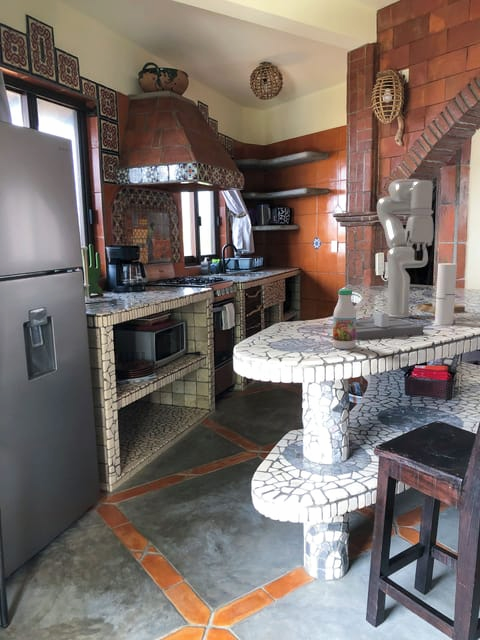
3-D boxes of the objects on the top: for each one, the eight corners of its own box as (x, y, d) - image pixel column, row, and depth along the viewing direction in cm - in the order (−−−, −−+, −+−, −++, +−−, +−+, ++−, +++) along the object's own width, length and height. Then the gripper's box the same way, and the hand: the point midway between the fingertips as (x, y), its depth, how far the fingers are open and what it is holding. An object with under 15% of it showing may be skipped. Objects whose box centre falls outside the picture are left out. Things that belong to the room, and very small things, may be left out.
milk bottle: (330, 344, 165) (330, 288, 161) (351, 343, 165) (352, 287, 162) (336, 350, 157) (337, 291, 153) (358, 349, 158) (360, 290, 154)
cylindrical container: (455, 325, 193) (459, 264, 188) (436, 324, 195) (440, 264, 190) (450, 321, 200) (454, 263, 195) (433, 321, 201) (436, 263, 197)
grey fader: (374, 324, 180) (374, 311, 179) (381, 324, 181) (381, 311, 180) (381, 327, 175) (381, 313, 174) (388, 326, 176) (388, 313, 175)
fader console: (333, 329, 189) (333, 322, 189) (394, 324, 196) (394, 317, 195) (356, 339, 171) (356, 331, 171) (422, 334, 178) (423, 326, 177)
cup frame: (417, 308, 233) (417, 304, 232) (443, 307, 237) (443, 302, 236) (437, 313, 219) (437, 308, 218) (464, 311, 222) (464, 306, 222)
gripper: (431, 213, 187) (428, 259, 191) (398, 214, 184) (396, 260, 187) (443, 212, 180) (440, 260, 184) (409, 213, 177) (407, 261, 180)
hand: (418, 260), depth 185 cm, fingers closed
